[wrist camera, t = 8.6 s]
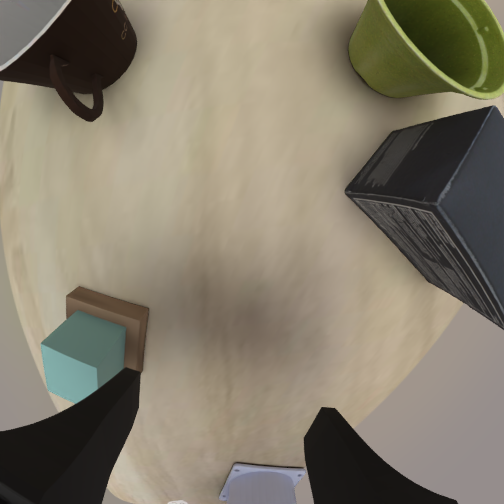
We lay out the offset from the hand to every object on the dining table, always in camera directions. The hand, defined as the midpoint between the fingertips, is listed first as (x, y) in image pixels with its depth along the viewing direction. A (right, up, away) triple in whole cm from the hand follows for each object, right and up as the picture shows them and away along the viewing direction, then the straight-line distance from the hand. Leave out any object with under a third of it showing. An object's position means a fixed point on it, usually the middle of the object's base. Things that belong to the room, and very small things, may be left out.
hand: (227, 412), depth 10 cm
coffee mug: (-10, +19, +6) cm, 22 cm away
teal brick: (-10, 0, +9) cm, 13 cm away
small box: (+13, +9, +9) cm, 18 cm away
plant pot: (+11, +20, +6) cm, 23 cm away
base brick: (-10, 0, +11) cm, 15 cm away
